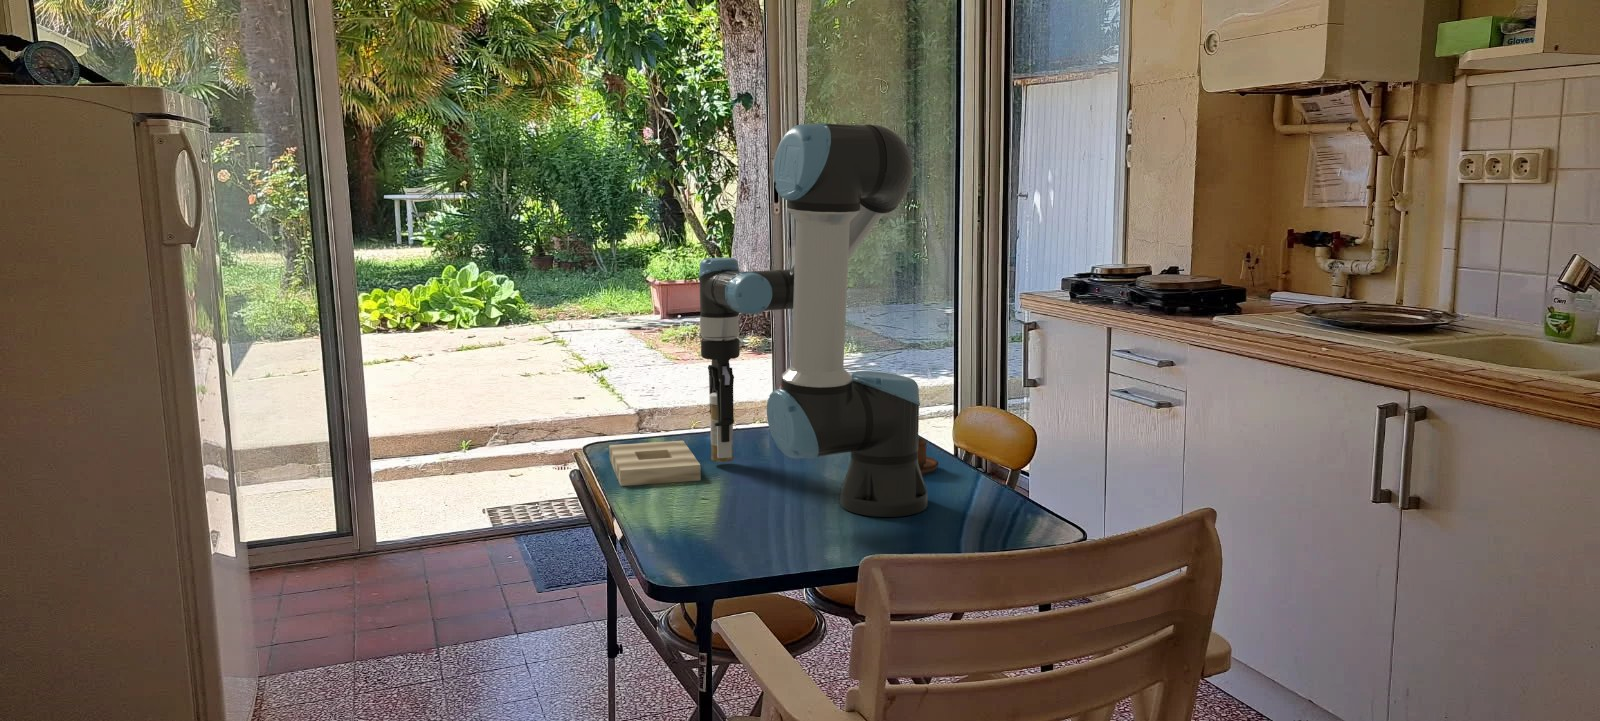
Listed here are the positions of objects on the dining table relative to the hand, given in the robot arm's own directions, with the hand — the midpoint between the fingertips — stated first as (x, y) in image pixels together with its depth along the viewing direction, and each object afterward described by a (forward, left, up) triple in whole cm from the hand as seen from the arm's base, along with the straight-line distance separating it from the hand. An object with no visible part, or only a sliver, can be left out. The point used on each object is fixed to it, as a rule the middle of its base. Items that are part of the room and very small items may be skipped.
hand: (722, 454), depth 219 cm
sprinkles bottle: (0, 0, -1) cm, 1 cm away
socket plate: (0, +14, -2) cm, 14 cm away
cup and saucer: (-14, -34, -3) cm, 37 cm away
